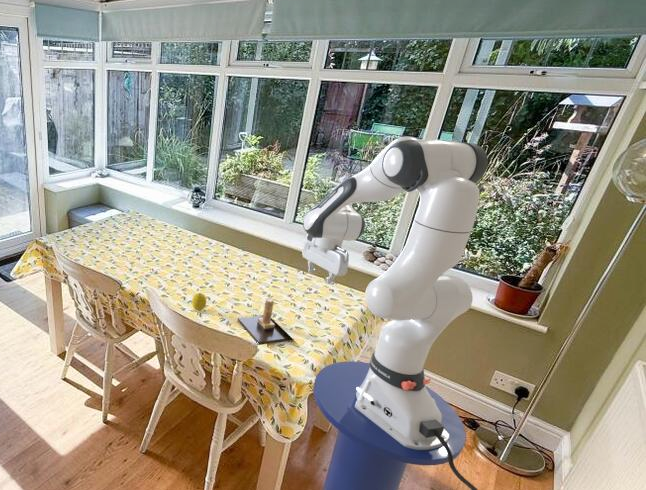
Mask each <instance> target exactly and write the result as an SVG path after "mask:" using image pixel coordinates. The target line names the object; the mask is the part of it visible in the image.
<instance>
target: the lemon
mask: <svg viewBox="0 0 646 490" xmlns="http://www.w3.org/2000/svg"><path fill="white" fill-rule="evenodd" d="M191 304H192V307H193V309H195V310H197V311H201V310H203V309H205V308H206V305H207V297H206V296H205V294H203V293H202V292H197V293H195V294H194V295H193V296H192V299H191Z"/></svg>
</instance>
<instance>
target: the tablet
mask: <svg viewBox="0 0 646 490" xmlns="http://www.w3.org/2000/svg"><path fill="white" fill-rule="evenodd" d="M258 318H263V314H260V315H252V316H244V317H237V321H238V322H239V323H240V325H241V326H242V327H243V328H244V330H245V331H246V332H247V333H248V334H249V336H250V337H251V338H252V339H253V340H254V341H255V343H257V342H258V343H259V345H258V346H261V345H268V344H277V343H284V342H289V341H295V339H294V338H293V337H291V335H290V334H288V332H287V331H286V330H285V329H283V327H282V326H280V325H279V324H278V323H277V322H276V321H275V320H274V319H273V318H272V317H271V321H272V322H273V323H274V324H275V327H274V330H273V331H265V332H264V331H263V330H262V329H261V328H260V327H259V326H258V325H257V323H258Z"/></svg>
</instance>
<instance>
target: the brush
mask: <svg viewBox="0 0 646 490" xmlns="http://www.w3.org/2000/svg"><path fill="white" fill-rule="evenodd" d="M274 303H275V300H274V298H272V297H267V298H265V304H264V308H263V314H262V315H263V318H258V323H257V325H258V326H259V327H260V328H261V329H262V330H263V331H264V332H265V331H273V330H274V327H275V324H274V323H273V322H272V321H271V318H272V315H273V309H274Z"/></svg>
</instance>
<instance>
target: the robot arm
mask: <svg viewBox="0 0 646 490" xmlns="http://www.w3.org/2000/svg"><path fill="white" fill-rule="evenodd" d="M488 160H489V159H488V156H487V152H486V151H485V150H484V148H483V147H481V146H479V145H477V144H474V143H472V142H467V141H460V142H459V141H451V140H442V139H433V138H431V139H419V138H416V137H414V136H400V137H397V138H396V139H394V140H393V141H391V142H390V143H389V144H388V145H387V146H386V147H385V148H383V150H381V152H379V154H377V156H376V157H375V158H374V159H373V160H372V162H371V163H370V164H369V165H367V166H366V167H365V168H364V169H363V170H361V171H360V172H358V173H357V174H355V175H353V176H351V177H347V178H346V179H344V180H343V181H341V182H340V183H339V184H338V185H337V186H336V187H334V188H333V190H331V191H330V192H329V193H328V194H327V195H326V196H325V197H324V198H323V199H321V201H319V202H318V204H317V205H315V206H313V207H312V208H311V209H309V210H308V211H307V212H306V213H305V215H304V218H303V221H302V225H303V226H302V227H303V230H304V231H305V233H306V234H305V241H304V244H303V247H302V252H301V254H302V255H301V256H302V258H303V259H306V261H307V265H308V270H307V271H308V272H307V273H309V274H311V275H314V274H315V273H316V269H315V265H317V266H318V267H320V268H322V269H324V270H325V271H327V272H328V275H329V276H328V277H325V280H324V282H325V284H327V285H331V284H333V281H334V279H335V278H336V277H337V276H338V277H343V276H346V275H347V273H348V269H349V260H350V254H349V252H348V250H347V249H346V248H342V246H343V242H344V241H350V242H351V241H352V242H353V241H358V239H360V238H361V237H362V236H363V234H364V232H365V229H366V221H365V218H364V217H363V216H362V214H360V213H359V212H357V211H356V210H355V209H354V208H353V206H352V205H353V204H357V203H359V204H360V203H372V202H373V203H375V202H385V201H390V200H392V199H394V198H396V197H397V196H399V195H400V194H402V193H403V192H404V191H405V192H407V193H410V192H411V193H412V192H414V191H415V190H416V191H417V192H418V194H419V204H418V207H417V209H416V212H415V215H414V219H413V222H412V225H411V228H410V230H409V234H408V236H407V239H406V243H405V245H404V247H403V249H402V250H401V253H400V254H399V256H398V257H397V258H396V259H395V260H394V262H393V263H392V264H391V266H389V267H388V269H387V270H386V271H385V272H383V273H382V274H381V275H380V276H378V277H377V278H375V279H373V280H372V281H370V282H369V283H368V284H367V286H366V288H365V292H364V301H365V305H366V307H367V308H368V310H369V312H370V313H371V314H372V315H373V316H375V317H377V318H379V319H384V320H391V321H388V322H387V323H386V324H385V325H383V327H382V328H381V330H380V333H379V335H378V339H377V343H376V345H375V350H374V351H373V352H372V354H371V357H370V359H369V363H370V368H369V371H368V373H367V376H366V378H365V380H364V381H363V383H362V385H361V386H360V387H359V388H358V387H357V389H356V390H357V392H356V397H357V401H356V403H355V408H356V409H357V410H359V411H360V412H361V413H362V414H364V415H365V416H366V417H367V418H369V419H370V420H371V421H373V422H374V423H375V424H376V425H378V426H379V427H380V428H381V429H383V430H384V431H385V432H387V433H388V434H389V435H390V436H392V437H393V438H394V439H395V440H397V441H398V442H399V443H401V444H402V445H403V446H405V447H407V448H411V449H416V450H429V449H435V448H438V447H441V446H444V448H445V450H446V452H447V455H448V462H447V463H448V465H449V467H450V469H451V471H452V472H453V474H454V475H455V477H456V478H457V479H459V481H461V483H463V484H464V485H465V486H466V487H468V488H469V489H470V490H479V489H478V488H477V487H475V485H473V484H472V483H471V482H470V481H469V480H468V479H466V478H465V477H464V476H463V475H462V474H461V473H460V472H459V471H458V469H457V467H456V466H455V463H454V459H453V456H452V453H451V451H450V449H449V447H448V445H447V442H448V440H449V436H450V435H449V434H448V432H447V431H446V430H445V429H444V426H443V425H442V424H441V422H442V415H441V412H440V410H439V409H438V407H437V406H436V402H435V400H434V399H433V398H432V397H431V396H430V394H429V392H428V391H427V389H426V387H425V386H426V385H427V384H430V383H431V382H430V381H432V379H431V378H427V379H425V378H426V377H425V369H424V365H425V363H426V361H427V358H428V355H429V352H430V350H431V347H432V346H433V345H434V343H435V341H436V340H437V338H438V337H439V336H440V335H441V333H442V332H443V331H444V330H445V329H446V328H447V327H448V326H449V324H450V323H452V322H453V321H454V320H455V319H456V318H458V317H459V316H461V315H462V314H465V313H466V312H467V311H469V309H471V306H472V304H473V292H472V289H471V288H470V286H469V284H468V283H467V281H465V280H463V279H462V278H460V277H457V276H453V275H448V274H444V273H446V272H447V271H449V270H451V269H452V268H454V267H455V266H457V265H458V264H459V263H460V262H461V260H462V257H463V255H464V252H465V249H466V246H467V244H468V241H469V238H470V236H471V233H472V231H473V227H474V224H475V221H476V217H477V213H478V209H479V204H480V203H479V202H480V188H479V187H478V185H477V184H476V183H477V182H478V181H480V180H481V179H482V178H483V176H484V175H485V173H486V172H487V170H488V169H487V168H488V163H489V161H488Z"/></svg>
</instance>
